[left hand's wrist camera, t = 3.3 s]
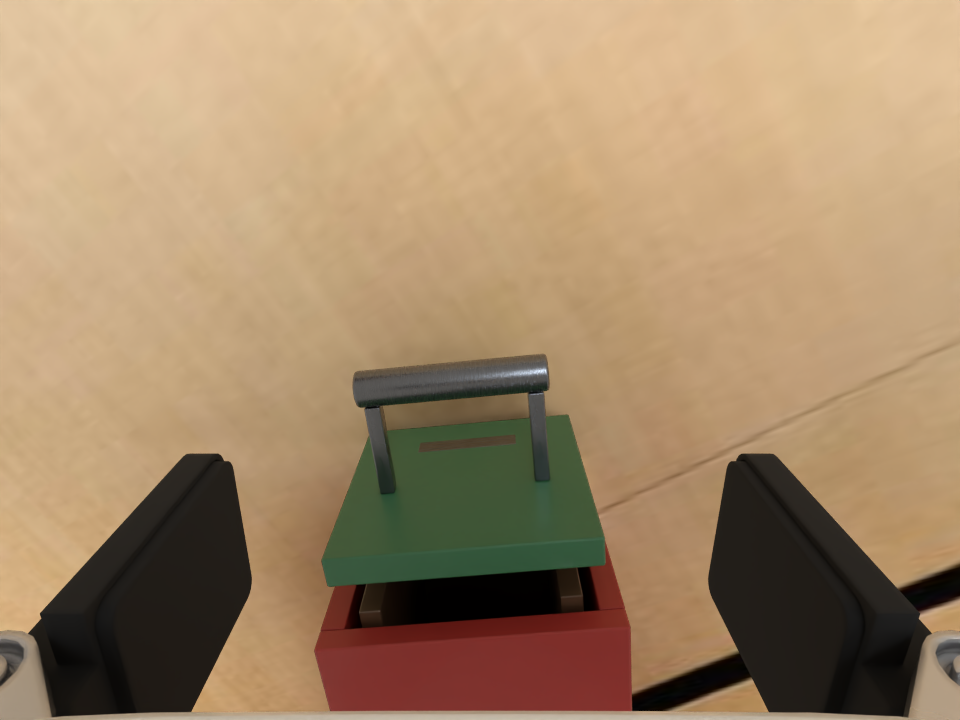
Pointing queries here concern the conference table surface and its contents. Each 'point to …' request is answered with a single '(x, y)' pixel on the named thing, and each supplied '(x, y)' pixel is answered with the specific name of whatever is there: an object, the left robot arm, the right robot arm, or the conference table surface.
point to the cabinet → (482, 657)
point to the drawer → (465, 503)
